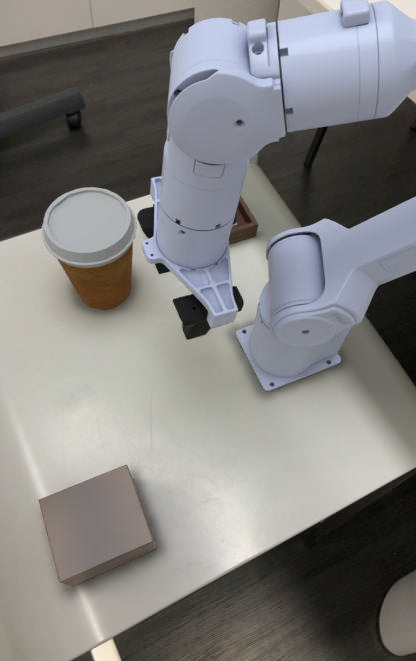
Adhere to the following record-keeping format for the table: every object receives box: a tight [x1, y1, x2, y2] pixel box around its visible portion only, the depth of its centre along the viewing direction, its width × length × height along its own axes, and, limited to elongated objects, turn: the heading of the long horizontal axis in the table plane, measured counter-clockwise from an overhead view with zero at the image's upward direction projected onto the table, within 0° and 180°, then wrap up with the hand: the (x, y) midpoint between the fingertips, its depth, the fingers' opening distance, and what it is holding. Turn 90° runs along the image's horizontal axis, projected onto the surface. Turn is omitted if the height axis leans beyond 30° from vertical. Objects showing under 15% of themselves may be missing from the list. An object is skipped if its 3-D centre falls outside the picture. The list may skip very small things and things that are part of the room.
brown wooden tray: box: [229, 195, 259, 246], centre depth 65 cm, size 12×7×2 cm, turn 113°
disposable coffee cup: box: [41, 186, 138, 310], centre depth 56 cm, size 10×10×12 cm
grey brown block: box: [38, 464, 157, 587], centre depth 46 cm, size 8×7×5 cm
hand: (180, 300), depth 49 cm, fingers open, 7 cm apart
